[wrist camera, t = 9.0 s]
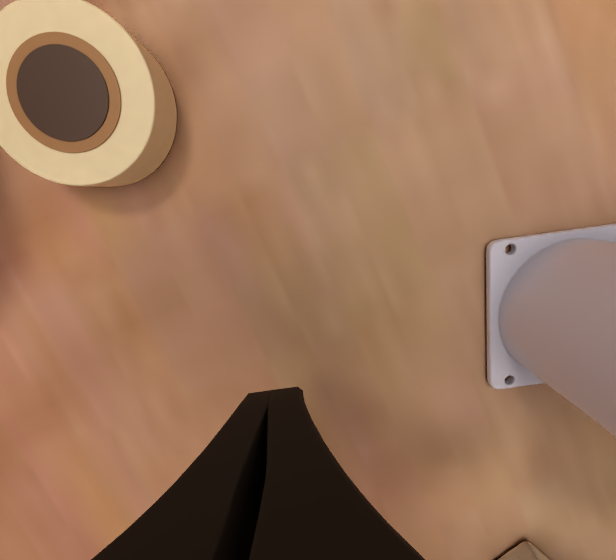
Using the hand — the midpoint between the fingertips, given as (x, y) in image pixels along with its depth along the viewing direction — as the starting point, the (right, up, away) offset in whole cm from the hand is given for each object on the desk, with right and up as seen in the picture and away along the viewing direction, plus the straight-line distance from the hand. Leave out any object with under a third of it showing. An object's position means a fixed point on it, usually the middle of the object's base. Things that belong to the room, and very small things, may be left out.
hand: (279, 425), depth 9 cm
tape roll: (-8, +11, +7) cm, 15 cm away
